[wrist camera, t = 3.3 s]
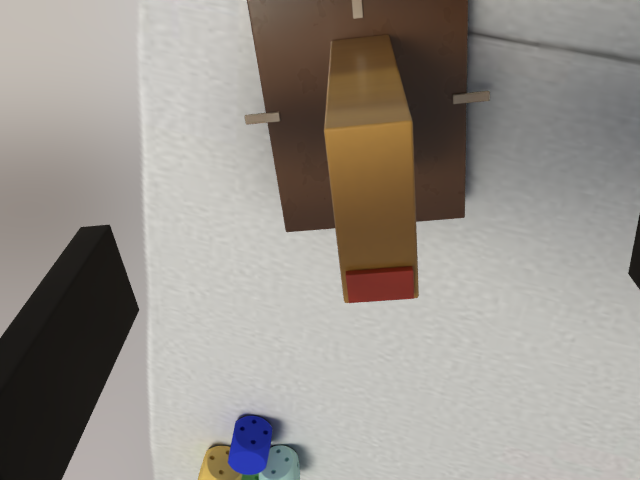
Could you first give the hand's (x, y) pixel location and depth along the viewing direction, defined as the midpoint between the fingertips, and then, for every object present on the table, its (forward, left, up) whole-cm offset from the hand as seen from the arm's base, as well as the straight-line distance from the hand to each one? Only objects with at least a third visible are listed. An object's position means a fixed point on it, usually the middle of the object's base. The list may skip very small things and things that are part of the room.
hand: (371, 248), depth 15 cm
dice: (+23, -6, -11) cm, 26 cm away
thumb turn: (0, 0, -10) cm, 10 cm away
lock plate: (0, 0, -12) cm, 12 cm away
